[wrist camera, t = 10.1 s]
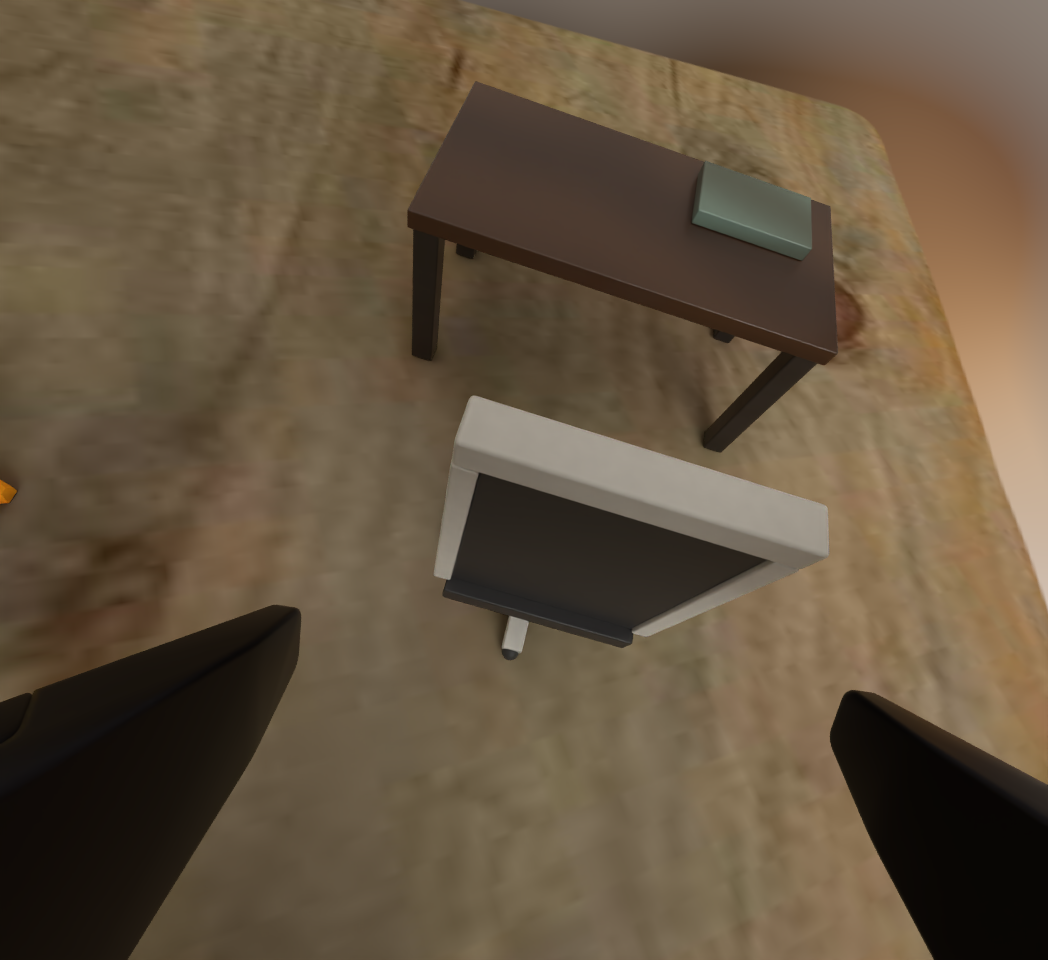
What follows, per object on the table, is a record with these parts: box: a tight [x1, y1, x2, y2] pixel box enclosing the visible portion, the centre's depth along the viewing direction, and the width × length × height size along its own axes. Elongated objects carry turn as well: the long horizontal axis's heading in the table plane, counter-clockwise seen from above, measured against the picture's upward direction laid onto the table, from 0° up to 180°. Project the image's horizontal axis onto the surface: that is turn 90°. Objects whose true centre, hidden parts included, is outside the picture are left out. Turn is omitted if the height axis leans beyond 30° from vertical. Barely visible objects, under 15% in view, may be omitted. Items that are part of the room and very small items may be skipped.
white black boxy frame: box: [434, 396, 829, 660], centre depth 15 cm, size 7×7×12 cm
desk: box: [408, 81, 838, 452], centre depth 23 cm, size 8×15×8 cm, turn 76°
